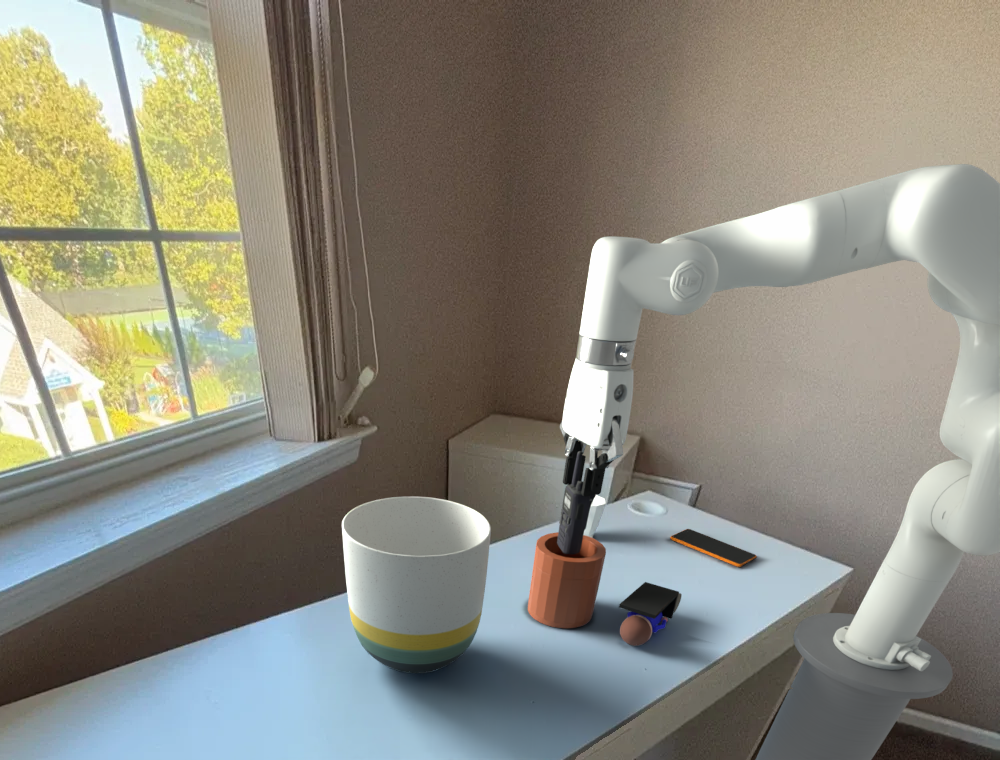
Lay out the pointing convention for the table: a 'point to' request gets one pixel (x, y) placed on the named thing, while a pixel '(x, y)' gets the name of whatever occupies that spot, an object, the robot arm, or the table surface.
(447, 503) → the planter
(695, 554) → the table surface
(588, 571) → the jar
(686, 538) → the smartphone
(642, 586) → the figurine character
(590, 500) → the two-way radio
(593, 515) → the cup
